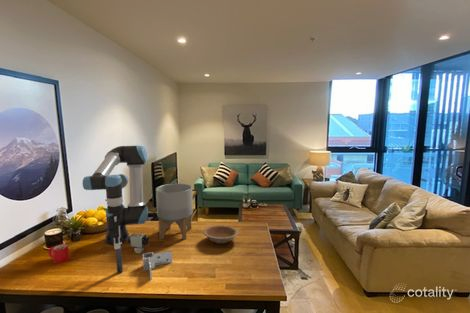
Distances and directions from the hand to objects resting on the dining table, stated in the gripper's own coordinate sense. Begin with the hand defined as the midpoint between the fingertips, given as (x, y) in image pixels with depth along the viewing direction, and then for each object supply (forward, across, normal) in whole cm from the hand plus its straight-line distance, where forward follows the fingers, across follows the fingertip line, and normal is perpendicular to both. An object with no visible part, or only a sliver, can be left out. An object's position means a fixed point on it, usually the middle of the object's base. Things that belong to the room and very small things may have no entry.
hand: (117, 243), depth 139 cm
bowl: (+17, -12, +63) cm, 67 cm away
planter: (+17, -36, +37) cm, 55 cm away
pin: (+17, 0, 0) cm, 17 cm away
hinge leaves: (+17, +5, +20) cm, 27 cm away
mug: (+17, -30, -34) cm, 48 cm away
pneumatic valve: (+17, -20, +11) cm, 28 cm away
